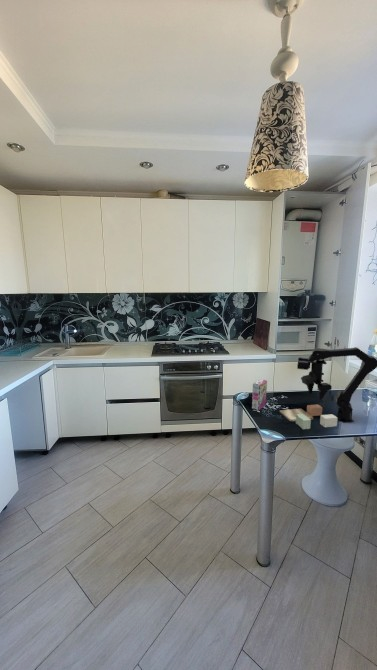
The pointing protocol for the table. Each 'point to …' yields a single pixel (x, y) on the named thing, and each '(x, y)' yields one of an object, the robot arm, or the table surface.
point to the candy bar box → (259, 394)
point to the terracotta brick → (314, 410)
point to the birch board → (294, 414)
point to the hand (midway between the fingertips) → (315, 396)
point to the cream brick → (328, 420)
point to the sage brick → (303, 421)
